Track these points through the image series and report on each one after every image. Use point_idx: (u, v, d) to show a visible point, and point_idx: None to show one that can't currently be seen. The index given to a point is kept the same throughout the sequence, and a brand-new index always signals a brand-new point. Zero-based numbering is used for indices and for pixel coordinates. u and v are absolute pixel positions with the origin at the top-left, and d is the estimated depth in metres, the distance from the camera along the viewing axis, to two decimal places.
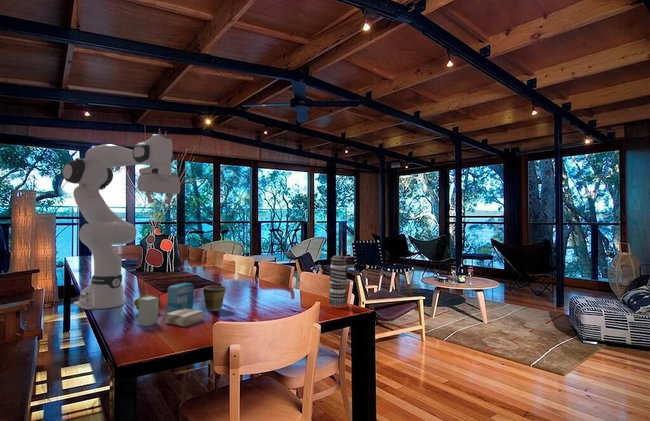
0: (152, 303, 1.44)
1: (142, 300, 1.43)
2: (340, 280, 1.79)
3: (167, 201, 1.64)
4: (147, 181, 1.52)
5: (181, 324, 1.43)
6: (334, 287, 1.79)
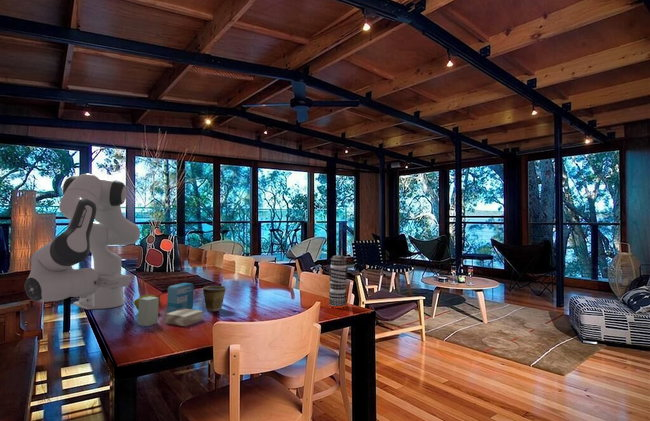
0: (152, 303, 1.44)
1: (142, 300, 1.43)
2: (340, 280, 1.79)
3: None
4: None
5: (181, 324, 1.43)
6: (334, 287, 1.79)
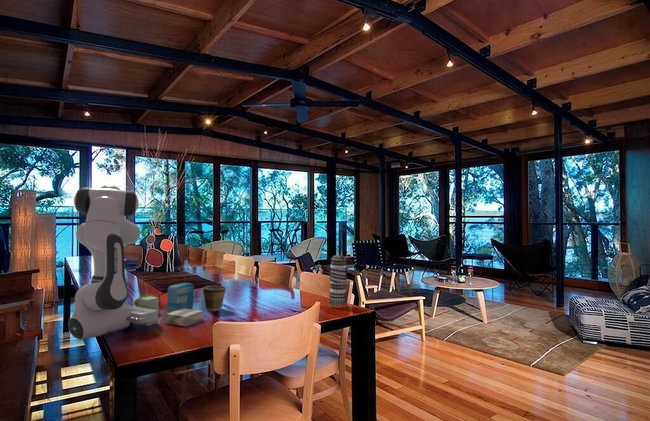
0: (152, 303, 1.44)
1: (142, 300, 1.43)
2: (340, 280, 1.79)
3: None
4: None
5: (181, 324, 1.44)
6: (334, 287, 1.79)
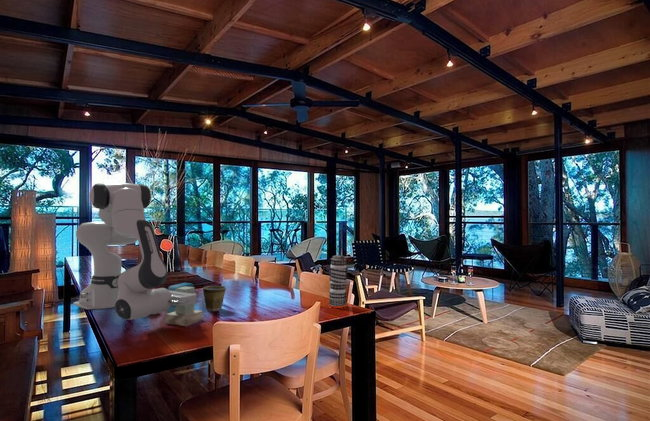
0: (189, 292, 1.48)
1: (179, 290, 1.47)
2: (340, 280, 1.79)
3: None
4: None
5: (182, 324, 1.44)
6: (334, 287, 1.79)
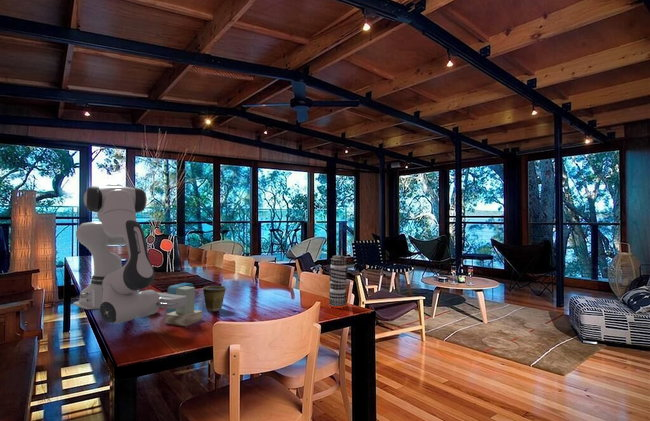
0: (189, 292, 1.48)
1: (180, 289, 1.47)
2: (340, 280, 1.79)
3: None
4: None
5: (182, 324, 1.44)
6: (334, 287, 1.79)
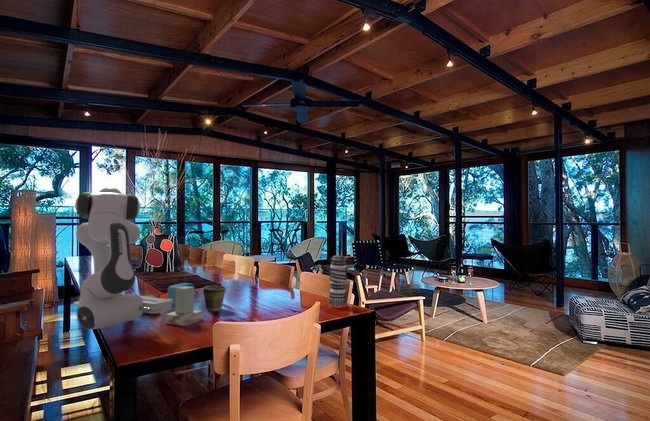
0: (188, 292, 1.48)
1: (179, 289, 1.48)
2: (340, 280, 1.79)
3: None
4: None
5: (182, 324, 1.44)
6: (334, 287, 1.79)
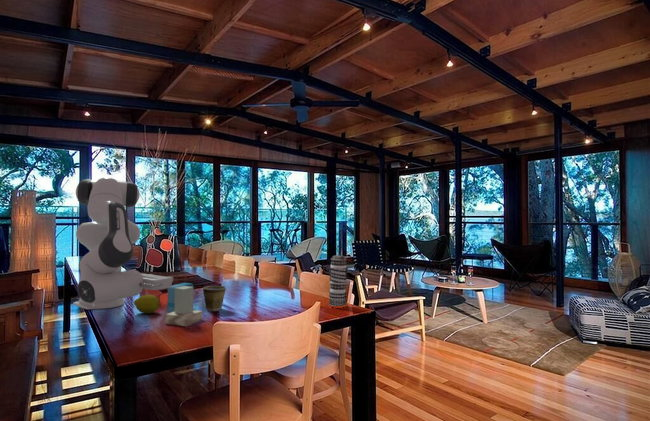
0: (187, 292, 1.48)
1: (178, 289, 1.48)
2: (340, 280, 1.79)
3: None
4: None
5: (182, 324, 1.43)
6: (334, 287, 1.79)
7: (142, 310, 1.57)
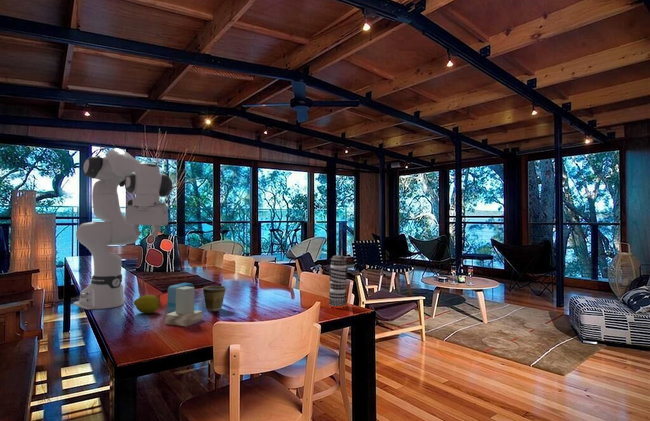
0: (188, 292, 1.48)
1: (179, 289, 1.47)
2: (340, 280, 1.79)
3: None
4: (127, 214, 1.51)
5: (182, 324, 1.43)
6: (334, 287, 1.79)
7: (142, 310, 1.57)
